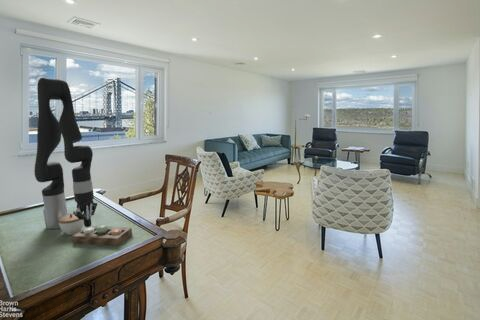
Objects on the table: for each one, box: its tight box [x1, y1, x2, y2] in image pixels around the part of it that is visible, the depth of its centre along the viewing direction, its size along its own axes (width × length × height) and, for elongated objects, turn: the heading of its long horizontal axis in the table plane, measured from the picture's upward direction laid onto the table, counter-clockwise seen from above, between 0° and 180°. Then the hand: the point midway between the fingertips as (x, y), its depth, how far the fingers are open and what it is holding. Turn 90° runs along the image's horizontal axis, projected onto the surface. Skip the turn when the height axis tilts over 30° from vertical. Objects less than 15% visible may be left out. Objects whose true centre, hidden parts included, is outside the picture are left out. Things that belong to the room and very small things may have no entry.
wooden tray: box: [71, 225, 133, 247], centre depth 124 cm, size 22×11×3 cm, turn 80°
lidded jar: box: [58, 212, 85, 236], centre depth 132 cm, size 11×11×9 cm
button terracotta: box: [111, 229, 122, 235], centre depth 123 cm, size 4×4×2 cm
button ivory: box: [82, 227, 94, 234], centre depth 125 cm, size 4×4×2 cm
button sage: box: [97, 224, 109, 234], centre depth 124 cm, size 4×4×2 cm
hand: (88, 226), depth 125 cm, fingers closed
